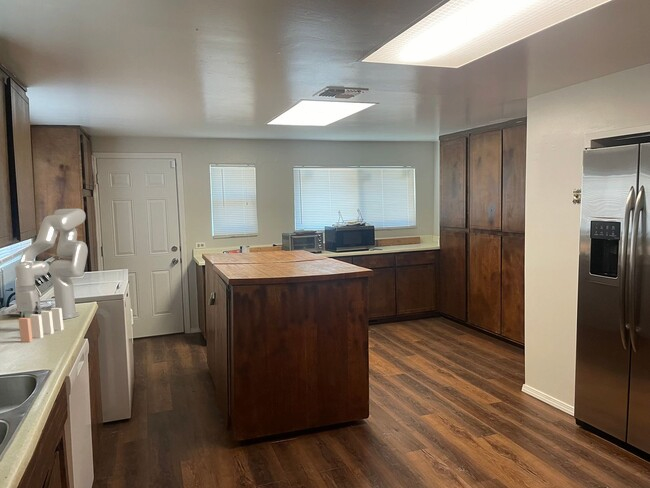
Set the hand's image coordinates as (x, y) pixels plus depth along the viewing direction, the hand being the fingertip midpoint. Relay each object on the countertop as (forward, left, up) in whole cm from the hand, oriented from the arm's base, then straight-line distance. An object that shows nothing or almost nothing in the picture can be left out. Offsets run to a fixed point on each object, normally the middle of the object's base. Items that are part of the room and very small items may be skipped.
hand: (30, 323), depth 242 cm
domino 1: (0, 0, -3) cm, 3 cm away
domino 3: (+15, -9, -3) cm, 18 cm away
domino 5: (+14, +3, -3) cm, 15 cm away
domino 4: (+15, -3, -3) cm, 15 cm away
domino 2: (+16, -15, -3) cm, 22 cm away
